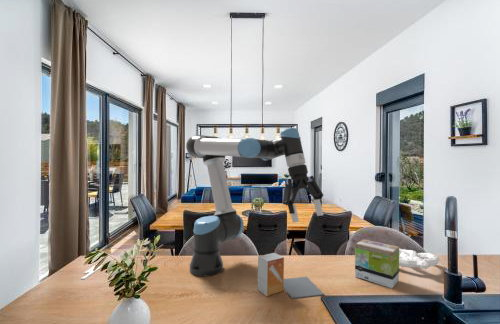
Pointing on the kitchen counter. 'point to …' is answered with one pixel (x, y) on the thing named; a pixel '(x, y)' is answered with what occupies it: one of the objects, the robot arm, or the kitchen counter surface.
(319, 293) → the mat
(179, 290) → the kitchen counter surface
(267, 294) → the small box
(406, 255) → the white towel
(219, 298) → the kitchen counter surface
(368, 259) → the tea box
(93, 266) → the white plastic blade
